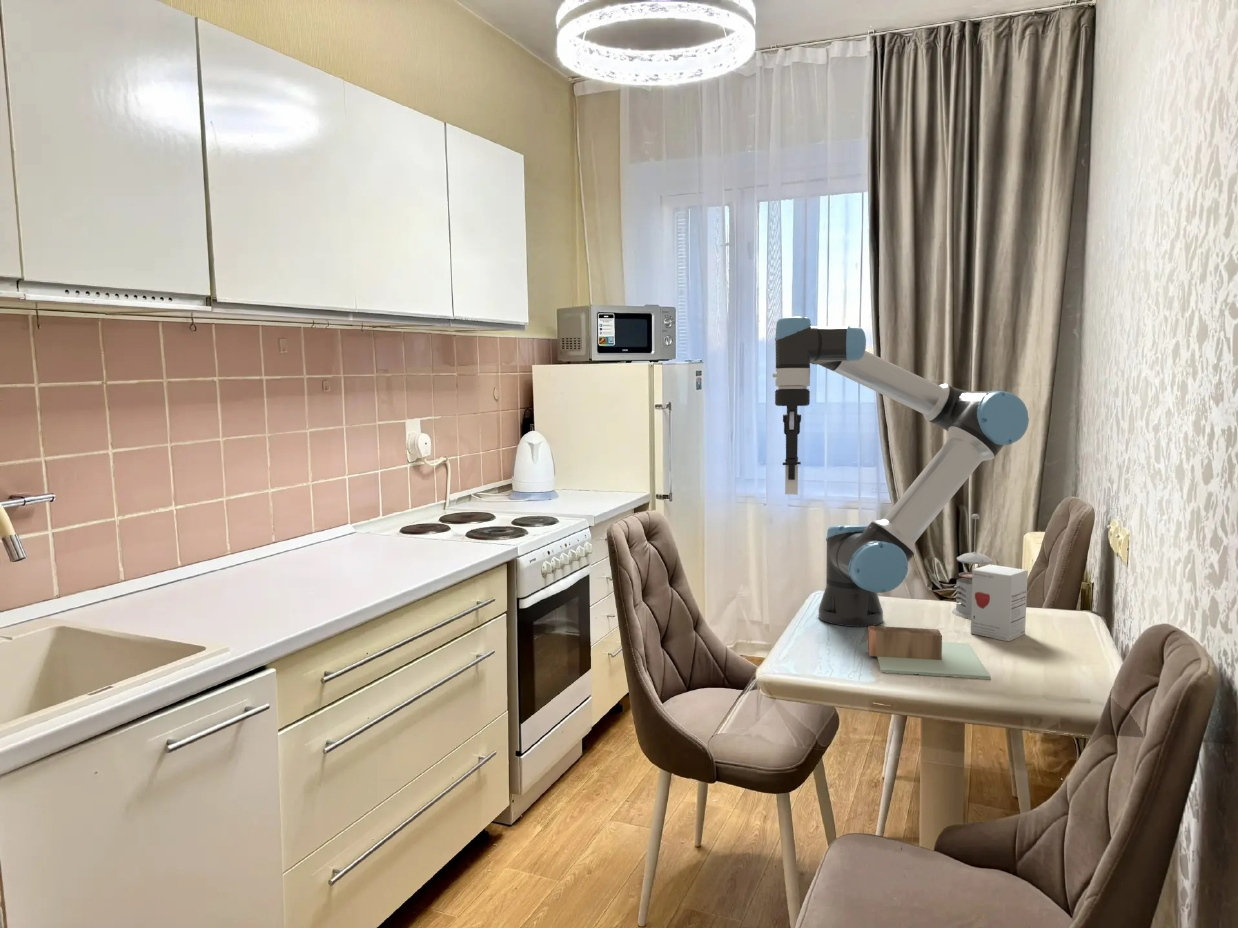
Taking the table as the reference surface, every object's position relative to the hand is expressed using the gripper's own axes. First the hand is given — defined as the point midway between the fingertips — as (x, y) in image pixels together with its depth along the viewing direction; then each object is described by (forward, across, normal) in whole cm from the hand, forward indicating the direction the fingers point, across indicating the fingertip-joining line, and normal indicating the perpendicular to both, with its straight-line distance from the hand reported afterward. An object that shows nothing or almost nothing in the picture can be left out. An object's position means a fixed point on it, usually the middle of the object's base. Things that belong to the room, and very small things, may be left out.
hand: (791, 493), depth 187 cm
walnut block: (+29, +11, +16) cm, 35 cm away
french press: (+33, -28, +44) cm, 62 cm away
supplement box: (+33, -11, +46) cm, 58 cm away
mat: (+32, +11, +28) cm, 44 cm away
